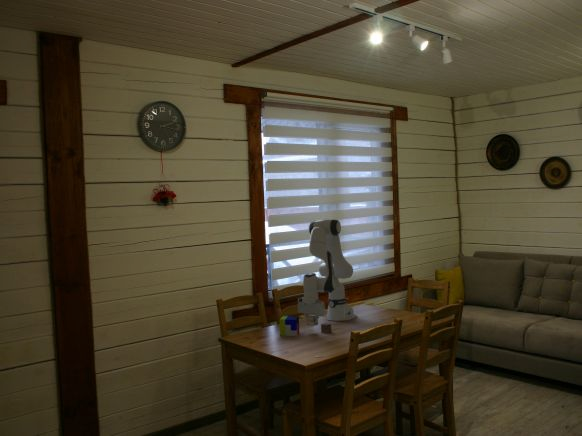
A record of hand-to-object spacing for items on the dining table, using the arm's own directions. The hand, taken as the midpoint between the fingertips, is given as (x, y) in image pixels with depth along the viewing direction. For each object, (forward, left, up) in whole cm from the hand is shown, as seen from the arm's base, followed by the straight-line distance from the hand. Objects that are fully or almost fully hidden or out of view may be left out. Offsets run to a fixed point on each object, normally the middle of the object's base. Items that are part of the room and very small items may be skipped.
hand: (312, 321), depth 320 cm
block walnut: (-6, +6, -7) cm, 11 cm away
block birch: (0, 0, -2) cm, 2 cm away
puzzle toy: (+11, -9, -7) cm, 16 cm away
